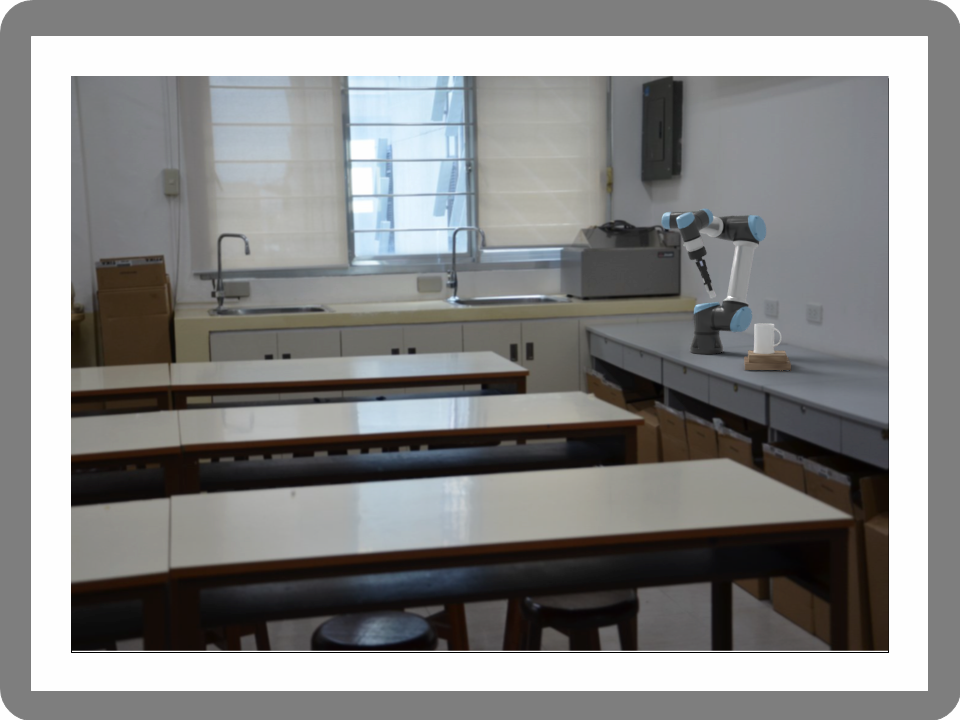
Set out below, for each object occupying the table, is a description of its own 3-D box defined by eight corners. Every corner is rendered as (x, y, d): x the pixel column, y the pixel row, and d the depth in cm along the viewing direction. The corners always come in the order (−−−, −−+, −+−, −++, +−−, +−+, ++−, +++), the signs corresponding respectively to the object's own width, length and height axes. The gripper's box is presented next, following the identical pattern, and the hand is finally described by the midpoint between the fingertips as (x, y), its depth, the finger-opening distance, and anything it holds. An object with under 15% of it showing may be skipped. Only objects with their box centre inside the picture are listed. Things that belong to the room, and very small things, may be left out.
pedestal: (744, 363, 412) (744, 349, 411) (788, 363, 408) (788, 350, 407) (744, 370, 394) (745, 356, 393) (790, 371, 390) (791, 356, 389)
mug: (785, 353, 398) (786, 324, 397) (774, 355, 393) (775, 326, 391) (760, 350, 407) (760, 322, 405) (749, 352, 401) (749, 324, 400)
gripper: (685, 247, 420) (700, 292, 424) (689, 255, 396) (706, 303, 400) (701, 241, 418) (717, 286, 422) (706, 249, 394) (723, 296, 398)
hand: (711, 294), depth 411 cm, fingers open, 13 cm apart
